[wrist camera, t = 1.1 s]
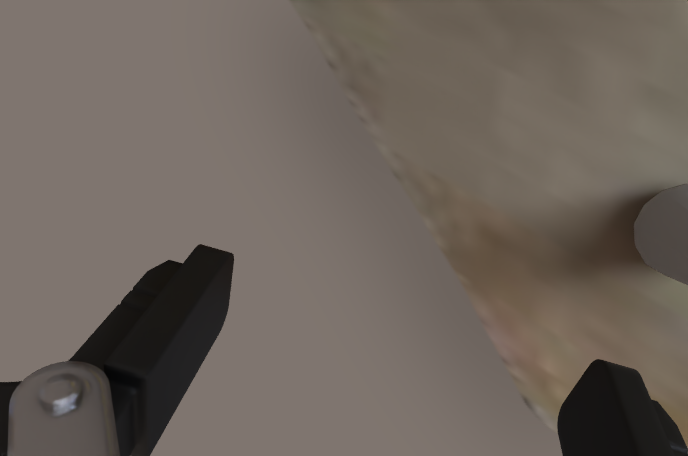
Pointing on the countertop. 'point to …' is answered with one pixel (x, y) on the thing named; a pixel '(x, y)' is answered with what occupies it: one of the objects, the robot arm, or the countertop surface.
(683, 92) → the countertop surface
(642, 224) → the salt shaker
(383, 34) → the countertop surface
